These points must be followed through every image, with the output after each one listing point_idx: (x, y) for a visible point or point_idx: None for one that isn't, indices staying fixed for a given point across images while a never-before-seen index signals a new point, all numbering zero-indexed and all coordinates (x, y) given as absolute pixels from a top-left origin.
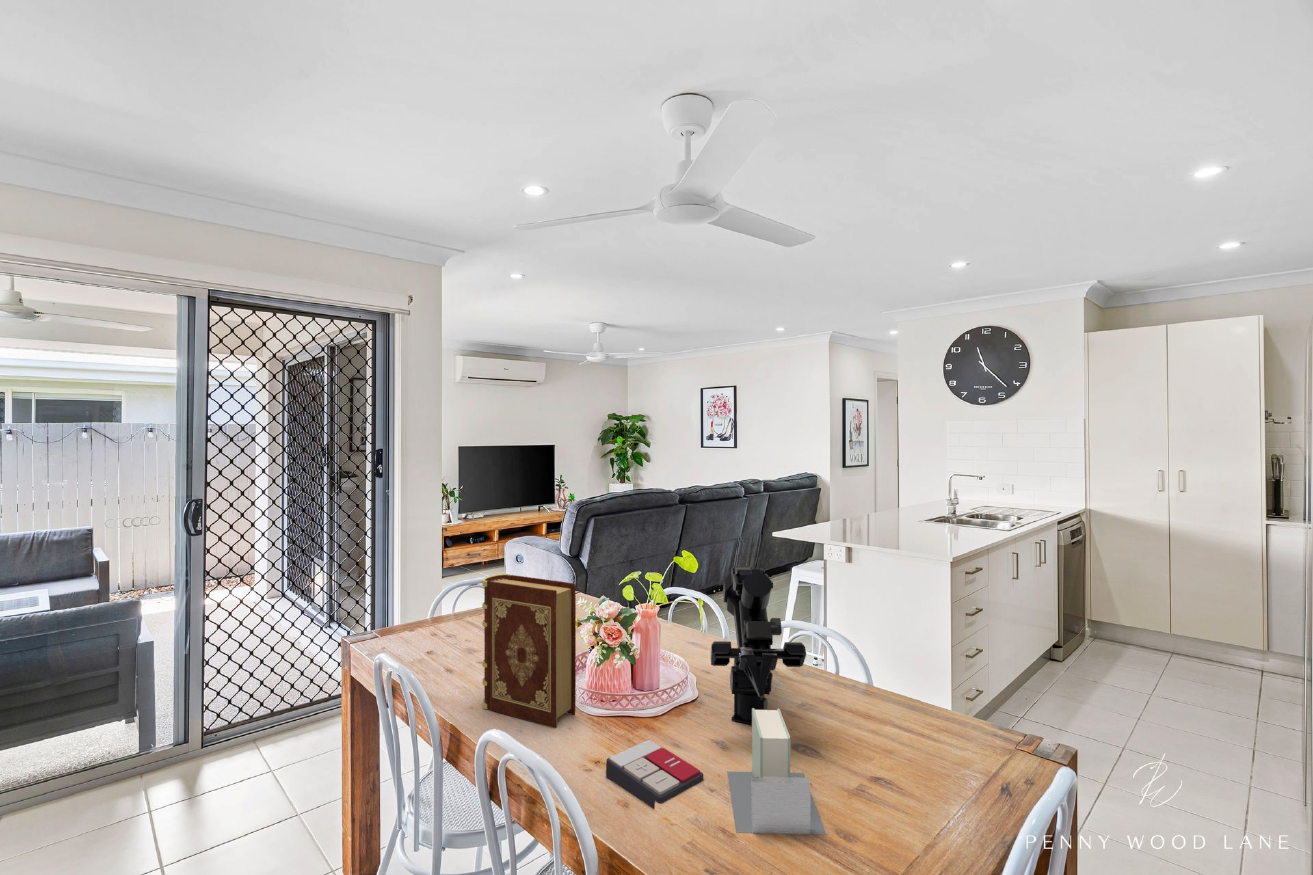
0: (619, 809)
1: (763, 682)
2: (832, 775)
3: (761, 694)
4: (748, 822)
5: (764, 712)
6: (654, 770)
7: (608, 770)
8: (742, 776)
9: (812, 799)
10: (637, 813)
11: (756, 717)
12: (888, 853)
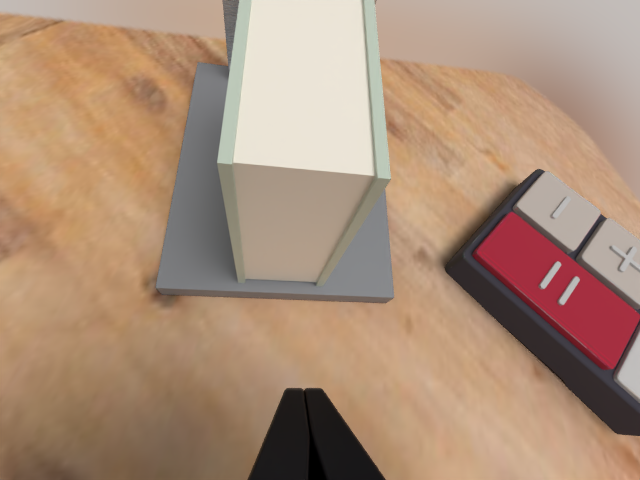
0: (592, 197)
1: (282, 472)
2: (45, 327)
3: (303, 392)
4: None
5: (319, 143)
6: (589, 246)
7: None
8: (351, 271)
9: (181, 164)
10: None
11: (372, 85)
12: (84, 46)
